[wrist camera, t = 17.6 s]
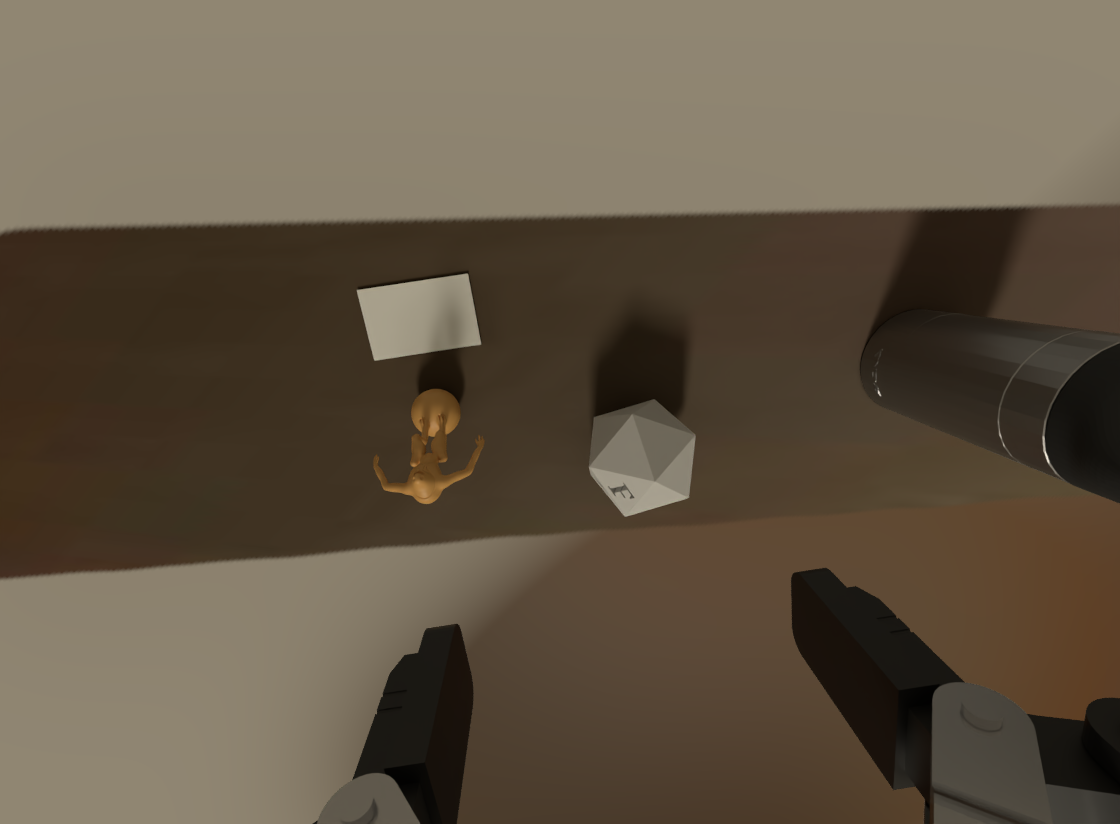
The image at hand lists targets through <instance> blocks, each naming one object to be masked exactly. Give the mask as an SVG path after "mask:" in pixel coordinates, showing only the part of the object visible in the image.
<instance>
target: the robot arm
mask: <svg viewBox="0 0 1120 824" xmlns="http://www.w3.org/2000/svg"><path fill="white" fill-rule="evenodd" d="M860 370H861V380H862V383H863V386H864V389H865V391H866V392H867V394H868V395H869V397H870V398H871V399H872V400H873V401H874V402H875V403H877V404H879V405H881V406H882V407H884V408H887V409H889V410H892V411H894V412H896V413H899V414H901V415H904V416H906V417H909V418H911V419H913V420H915V421H918V422H920V423H923V424H925V425H928V426H930V427H932V428H935V429H937V430H940V431H942V432H945V433H947V434H950V435H952V436H954V437H957V438H959V439H962V440H964V441H967V442H969V443H972V444H974V445H976V446H979V447H981V448H984V449H986V450H989V451H991V452H994V453H996V454H999V455H1001V456H1003V457H1006V458H1008V459H1011V460H1013V461H1016V462H1018V463H1021V464H1023V465H1025V466H1028V467H1030V468H1033V469H1036V470H1038V471H1041V472H1043V473H1046V474H1048V475H1050V476H1053V477H1055V478H1058V479H1060V480H1063V481H1065V482H1067V483H1070V484H1072V485H1074V486H1076V487H1079V488H1081V489H1084V490H1087V491H1089V492H1092V493H1094V494H1097V495H1099V496H1102V497H1105V498H1107V499H1110V500H1112V501H1115V502H1118V503H1120V334H1119V333H1111V332H1103V331H1093V330H1085V329H1077V328H1069V327H1061V326H1053V325H1045V324H1037V323H1029V322H1021V321H1013V320H1005V319H997V318H989V317H981V316H973V315H966V314H959V313H950V312H942V311H934V310H924V309H917V310H910V311H906V312H903V313H901V314H898V315H896V316H894V317H893V318H891V319H889V320H888V321H886V322H885V323H884V324H883V325H882V326H881V327H879V328H878V330H877V331H876V332H875V333H874V334H873V336H872V337H871V339H870V340H869V342H868V344H867V346H866V347H865V350H864V353H863V356H862V361H861V368H860ZM791 596H792V629H793V635H794V639H795V642H796V645H797V647H798V649H799V651H800V653H801V655H802V657H803V658H804V659H805V661H806V662H807V664H808V665H809V667H810V668H811V670H812V671H813V673H814V674H815V676H816V677H817V679H818V680H819V682H820V683H821V684H822V686H823V687H824V689H825V690H826V692H827V693H828V695H829V696H830V698H831V699H832V701H833V702H834V704H835V705H836V706H837V708H838V709H839V711H840V712H841V714H842V715H843V717H844V718H845V720H846V721H847V723H848V724H849V725H850V727H851V728H852V730H853V731H854V733H855V734H856V736H857V737H858V739H859V740H860V742H861V743H862V744H863V746H864V748H865V749H866V750H867V752H868V753H869V755H870V756H871V758H872V759H873V761H874V762H875V764H876V765H877V767H878V768H879V769H880V771H881V772H882V774H883V775H884V777H885V778H886V780H887V781H888V783H889V784H890V786H891V787H892V789H893V790H896V789H902V788H908V787H915V786H916V788H917V789H918V790H919V792H920V793H921V794H922V796H923V797H924V799H925V804H924V824H1120V698H1102V699H1097V700H1095V701H1093V702H1091V703H1090V704H1089V705H1088V707H1087V710H1086V715H1085V720H1084V721H1080V720H1071V719H1062V718H1053V717H1044V716H1036V715H1030V714H1026V713H1025V711H1023V710H1022V709H1021V708H1020V707H1019V706H1018V705H1017V704H1016V703H1014V702H1013V701H1012V700H1010V699H1008V698H1007V697H1005V696H1003V695H1002V694H1000V693H998V692H996V691H993V690H991V689H988V688H986V687H983V686H980V685H975V684H971V683H965V682H964V681H963V680H962V679H961V678H959V676H958V675H956V674H955V672H954V671H953V670H951V669H950V668H949V667H948V666H947V665H946V664H945V663H944V662H943V661H942V660H941V659H940V658H939V657H938V656H937V655H936V654H935V653H934V652H933V651H932V650H931V649H930V648H929V647H928V646H927V645H926V644H925V643H924V642H923V641H922V640H921V639H920V638H919V637H918V636H917V635H916V634H915V633H914V632H910V629H909V628H908V627H907V626H906V625H905V624H904V623H903V622H902V621H901V620H900V619H899V618H898V619H897V618H896V615H895V614H894V613H893V612H892V611H891V610H890V609H889V608H888V607H887V606H886V605H885V604H884V603H883V602H882V601H881V600H880V599H878V598H876V597H875V596H873V595H871V594H869V593H867V592H865V591H864V590H862V589H860V588H858V587H856V586H855V587H848V588H847V587H846V586H845V585H844V584H843V583H842V582H841V581H840V580H839V579H838V578H837V577H836V576H835V575H834V574H833V573H832V572H831V571H830V570H829V569H827V568H822V569H815V570H808V571H802V572H796V573H793V575H792V578H791ZM472 709H473V682H472V675H471V671H470V666H469V662H468V658H467V654H466V649H465V645H464V641H463V637H462V632H461V629H460V627H459V625H458V624H453V625H446V626H440V627H433V628H427V629H426V630H425V632H424V635H423V638H422V642H421V645H420V648H419V652H418V653H415V654H409V655H404V657H403V658H402V659H401V661H400V662H399V663H398V664H397V665H396V667H395V668H394V669H393V670H392V671H391V673H390V675H389V677H388V680H387V683H386V686H385V689H384V692H383V697H381V700H380V703H379V706H378V709H377V714H375V717H374V720H373V723H372V726H371V729H370V731H369V734H368V737H367V740H366V743H365V746H364V748H363V751H362V754H361V757H360V760H359V763H358V766H357V769H356V771H355V774H354V777H353V779H352V781H350V782H349V783H347V784H346V785H344V786H343V787H342V788H340V789H339V790H338V791H337V792H336V793H335V794H334V795H333V796H332V797H331V799H330V800H329V801H328V802H327V804H326V805H325V807H324V808H323V810H322V812H321V814H320V816H319V819H318V821H316V822H315V823H313V824H457V818H458V810H459V803H460V796H461V789H462V781H463V774H464V766H465V759H466V752H467V745H468V737H469V731H470V723H471V715H472Z"/></svg>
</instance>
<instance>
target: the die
mask: <svg viewBox="0 0 1120 824" xmlns="http://www.w3.org/2000/svg"><path fill="white" fill-rule="evenodd" d="M695 436H696V435H695V434H694V433H693V432H691V431H690V430H689V429H688V428H687V427H686V426H685V425H683V424H682V423H681V422H680V421H679V420H678V419H677V418H675V417H674V416H673V415H672V414H671V413H670V412H669V411H667V410H666V409H665V408H664V407H663V406H662V405H661V404H659V403H658V402H657V401H656V400H655V399H653V400H650V401H646V402H643V403H640V404H636V405H633V406H630V407H626V408H623V409H620V410H616V411H613V412H610V413H606V414H603V415H600V416H596V417H594V422H593V431H592V441H591V451H590V460H589V470H590V473H591V476H592V477H593V478H594V480H595V481H596V482H597V483H598V484H599V486H600V487H601V488H602V489H603V491H604V492H605V493H606V494H607V495H608V497H609V498H610V499H611V500H612V501H613V503H614V504H615V505H616V506H617V508H618V509H619V510H620V511H621V512H622V514H623V515H624V516H625V517H626V516H629V515H633V514H636V513H640V512H643V511H646V510H650V509H653V508H656V507H660V506H663V505H667V504H670V503H673V502H677V501H680V500H684V499H687V498H689V491H690V482H691V473H692V464H693V454H694V445H695Z"/></svg>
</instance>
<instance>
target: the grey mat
mask: <svg viewBox="0 0 1120 824" xmlns="http://www.w3.org/2000/svg"><path fill="white" fill-rule="evenodd" d="M357 293H358V297H359V301H360V305H361V309H362V313H363V317H364V321H365V325H366V329H367V333H368V337H369V341H370V345H371V349H372V353H373V357H374V361H375V360H382V359H388V358H395V357H401V356H408V355H415V354H421V353H428V352H434V351H441V350H447V349H454V348H460V347H467V346H474V345H480V344H481V340H480V334H479V329H478V324H477V318H476V313H475V308H474V302H473V297H472V292H471V286H470V281H469V276H468V274H461V275H455V276H448V277H441V278H435V279H428V280H421V281H415V282H408V283H401V284H395V285H388V286H381V287H374V288H368V289H361V290H357Z"/></svg>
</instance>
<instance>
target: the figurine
mask: <svg viewBox="0 0 1120 824" xmlns="http://www.w3.org/2000/svg"><path fill="white" fill-rule="evenodd" d="M460 414H461V411H460V406H459V403H458V401H457V400H456V398H455V397H454V396H453V395H452V394H451V393H449V392H447V391H445V390H442V389H430V390H427V391H425V392H423V393H421V394H420V395H419V396H418V397H417V398H416V399H415V401H414V403H413V405H412V410H411V416H412V420H413V423H414V425H415V426H416V427H417V429H418V430H419V431H421V432H422V436H420V435H419V434H415V435H413V436H412V447H411V448H412V458H411V462H410V464H411V466H413V467H414V468H413V470H412V471H411V473H410V475H409V478H408V481H407V482H406V483H388V481H387V479H386V477H385V475H384V473H383V471H382V469H381V468H380V467H379V466H378V460H379V457H378V458H377V454H376V456H375V457H374V469H375V471H376V474H377V476H378V477H379V479H380V481H381V484H382V487H383V489H384V490H386V491H391V492H401V493H403V494H406V495H412V496H413V497H414V498H415V499H416V500H417V501H418V502H420V503H424V504H429V503H432V502H434V501H435V500H436V499H437V498H438V497H439V496H440V494H441V492H442V490H443V489H444V488H446V487H448V486H449V485H451V484H452V483H454V482H456V481H458V480H461V479H463V478H465V477H467V476H469V475H470V474H471V473H472V472H473V469H474V466H475V463H476V461H477V459H478V457H479V455H480V452H481V450H482V448H483V446H484V439H483V437H481V440H480V436H479V435H478V437H479V438H478V441H477V440H476V439H475V441H476V443H477V445H478V447H477V449H476V450H475V451H474V453H473V455H472V457H471V459H470V462H469V463H468V465H467V467H466V469H464V470H461V471H457V472H455V473H452V474H449V475H442V474H441V471H440V469H439V467H438V463H439V462H445V461H447V458H448V456H447V452H446V447H447V442H446V439H447V436H446V434H448V433H450V432H451V431H452V430H453V429H454V428H455V427H456V426H457V424H458V422H459V420H460ZM428 436H433V437H434V439H433V441H432V443H431V449H432V452H433V454H431V453H427V454H426V455H425V453H426V447H425V445H426V443H427V441H428Z"/></svg>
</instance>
